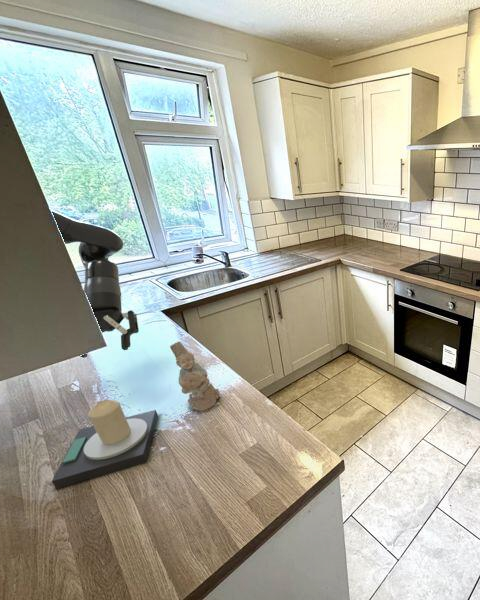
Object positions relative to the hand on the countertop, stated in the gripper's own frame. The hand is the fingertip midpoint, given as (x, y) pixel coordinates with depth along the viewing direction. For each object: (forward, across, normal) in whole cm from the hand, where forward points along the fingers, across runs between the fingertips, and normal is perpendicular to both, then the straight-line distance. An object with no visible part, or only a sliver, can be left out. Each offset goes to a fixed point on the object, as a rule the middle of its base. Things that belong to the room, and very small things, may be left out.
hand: (104, 352), depth 85 cm
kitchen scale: (+24, 0, +2) cm, 24 cm away
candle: (+22, +2, 0) cm, 22 cm away
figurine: (+18, +19, +9) cm, 27 cm away
